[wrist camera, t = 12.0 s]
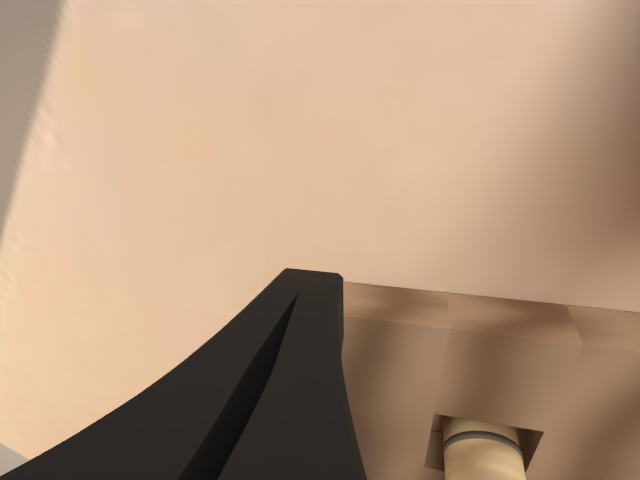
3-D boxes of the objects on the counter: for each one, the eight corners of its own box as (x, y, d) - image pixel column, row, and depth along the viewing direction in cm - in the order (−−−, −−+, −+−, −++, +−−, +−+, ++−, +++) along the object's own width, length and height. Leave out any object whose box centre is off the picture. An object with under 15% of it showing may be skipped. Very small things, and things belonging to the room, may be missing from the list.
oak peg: (512, 390, 23) (537, 506, 18) (514, 432, 25) (536, 546, 20) (437, 389, 24) (441, 498, 19) (444, 429, 26) (450, 536, 21)
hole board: (751, 324, 18) (793, 370, 16) (607, 516, 27) (622, 559, 25) (305, 277, 22) (292, 309, 20) (319, 459, 31) (312, 493, 29)
